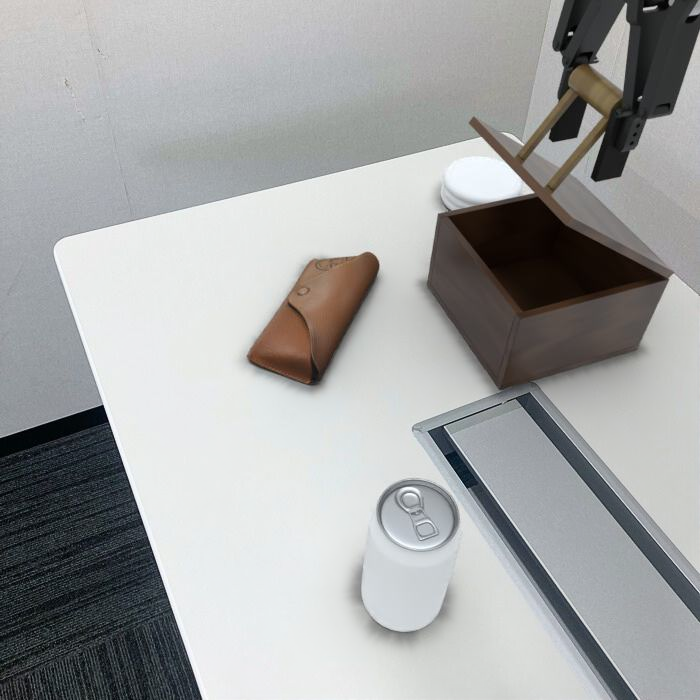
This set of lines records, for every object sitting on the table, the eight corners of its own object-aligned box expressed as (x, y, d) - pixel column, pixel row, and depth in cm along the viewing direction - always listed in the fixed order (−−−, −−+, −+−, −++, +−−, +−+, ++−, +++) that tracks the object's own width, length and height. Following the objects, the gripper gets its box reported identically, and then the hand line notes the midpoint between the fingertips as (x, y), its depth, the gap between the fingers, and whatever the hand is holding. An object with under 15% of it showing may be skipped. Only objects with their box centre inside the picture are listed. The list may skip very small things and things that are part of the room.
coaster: (534, 204, 96) (540, 181, 94) (481, 233, 92) (486, 209, 89) (476, 169, 101) (481, 146, 99) (423, 195, 97) (427, 171, 94)
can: (420, 545, 62) (438, 461, 54) (457, 616, 58) (483, 537, 50) (348, 572, 60) (355, 489, 52) (381, 647, 56) (394, 570, 48)
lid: (565, 225, 61) (658, 118, 56) (468, 123, 71) (540, 26, 67) (668, 278, 72) (753, 193, 67) (571, 183, 82) (639, 104, 78)
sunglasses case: (309, 254, 87) (339, 221, 82) (357, 291, 88) (389, 260, 83) (241, 361, 75) (271, 329, 70) (298, 401, 76) (331, 373, 71)
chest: (499, 390, 74) (520, 319, 67) (426, 284, 85) (437, 213, 78) (637, 349, 79) (670, 279, 72) (551, 254, 90) (573, 184, 82)
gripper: (552, -173, 56) (494, 112, 73) (729, -93, 44) (612, 226, 61) (634, -177, 58) (560, 100, 75) (824, -101, 46) (685, 208, 63)
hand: (583, 156), depth 68 cm, fingers closed on lid, 6 cm apart
